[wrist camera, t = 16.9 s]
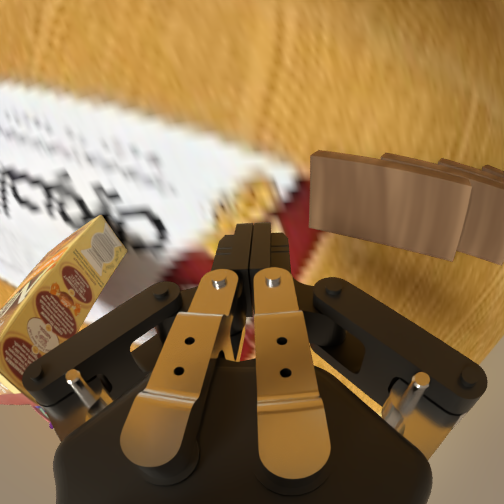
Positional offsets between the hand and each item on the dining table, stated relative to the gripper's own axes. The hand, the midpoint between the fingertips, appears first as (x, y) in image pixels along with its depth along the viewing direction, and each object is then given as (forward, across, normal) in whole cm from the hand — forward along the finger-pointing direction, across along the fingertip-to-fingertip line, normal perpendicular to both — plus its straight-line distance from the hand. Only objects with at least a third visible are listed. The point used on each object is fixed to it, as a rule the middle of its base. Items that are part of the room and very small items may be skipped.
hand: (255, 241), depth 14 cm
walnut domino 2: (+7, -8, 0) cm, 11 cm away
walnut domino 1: (+7, -4, 0) cm, 8 cm away
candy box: (+8, +16, +5) cm, 19 cm away
